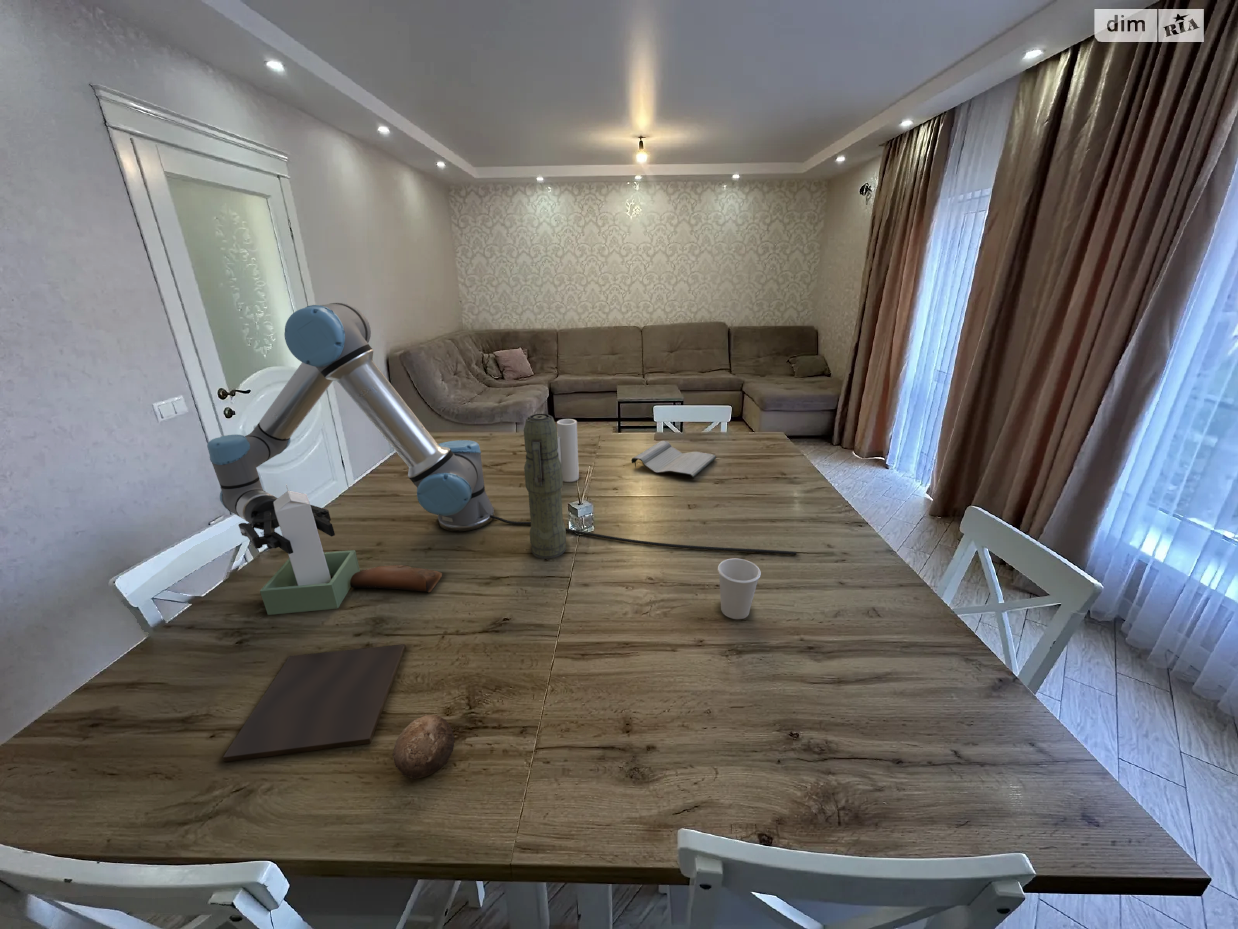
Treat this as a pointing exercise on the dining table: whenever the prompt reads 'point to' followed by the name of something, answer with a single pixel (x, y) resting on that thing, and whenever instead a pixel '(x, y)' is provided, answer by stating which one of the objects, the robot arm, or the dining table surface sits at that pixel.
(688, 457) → the mat
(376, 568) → the sunglasses case
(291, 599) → the basket
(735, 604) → the dixie cup
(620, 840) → the dining table surface
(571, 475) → the vase
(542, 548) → the thermos
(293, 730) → the board
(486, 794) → the dining table surface
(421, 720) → the brown potato
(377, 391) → the robot arm
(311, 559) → the milk
